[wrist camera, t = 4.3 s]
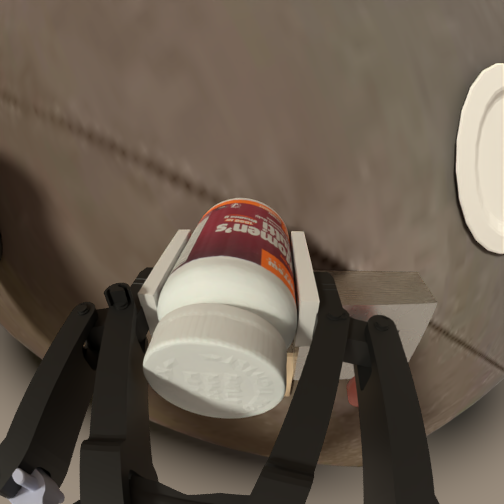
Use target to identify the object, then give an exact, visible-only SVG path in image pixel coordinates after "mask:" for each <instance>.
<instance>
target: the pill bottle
mask: <svg viewBox="0 0 504 504" xmlns="http://www.w3.org/2000/svg"><path fill="white" fill-rule="evenodd" d="M157 314H158V321H159V323H158V325H157V326H156V328H155V331H154V333H153V336H152V340H151V342H150V344H149V347H148V349H147V352H146V354H145V357H144V360H143V372H144V376H145V378H146V380H147V381H148V383H149V384H150V386H151V387H152V388H153V389H154V390H155V391H156V392H157V393H158V394H159V395H160V396H161V397H163V398H164V399H166V400H167V401H169V402H170V403H172V404H174V405H176V406H178V407H180V408H182V409H184V410H187V411H190V412H193V413H196V414H199V415H204V416H209V417H215V418H244V417H251V416H255V415H259V414H262V413H264V412H266V411H268V410H270V409H272V408H274V407H275V406H276V405H277V404H278V403H279V402H280V401H281V400H282V399H283V397H284V395H285V392H286V386H287V369H286V365H287V349H288V348H289V346H290V345H291V343H292V341H293V339H294V337H295V333H296V329H297V315H298V314H297V305H296V296H295V284H294V273H293V266H292V257H291V247H290V239H289V234H288V230H287V228H286V225H285V223H284V222H283V220H282V218H281V217H280V216H279V215H278V214H277V212H275V211H274V210H273V209H272V208H270V207H269V206H268V205H266V204H264V203H262V202H259V201H257V200H253V199H248V198H234V199H229V200H226V201H223V202H220V203H218V204H217V205H215V206H213V207H212V208H211V209H210V210H209V211H208V212H207V213H206V214H205V215H204V216H203V217H202V219H201V220H200V222H199V223H198V225H197V227H196V229H195V230H194V232H193V234H192V236H191V237H190V239H189V241H188V243H187V245H186V246H185V248H184V250H183V251H182V253H181V255H180V257H179V259H178V260H177V262H176V264H175V266H174V268H173V270H172V271H171V273H170V275H169V277H168V279H167V281H166V283H165V284H164V286H163V288H162V291H161V294H160V297H159V300H158V307H157Z"/></svg>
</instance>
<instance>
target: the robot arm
mask: <svg viewBox="0 0 504 504" xmlns="http://www.w3.org/2000/svg"><path fill="white" fill-rule="evenodd" d="M190 237H191V230H178V232H177V233H176V235H175V236H174V238H173V239H172V241H171V242H170V244H169V245H168V247H167V248H166V250H165V251H164V253H163V254H162V256H161V257H160V259H159V260H158V262H157V264H156V265H155V267H154V268H148V267H147V268H145V269H144V270H143V271H141V272H140V273H139V275H138V276H137V278H136V279H135V281H134V282H133V284H132V285H131V287H130V286H129V285H128V284H126V283H116V284H113V285H111V286H109V287H108V288H107V289H106V290H105V291H104V295H105V297H106V300H107V303H108V305H109V308H106V309H98V310H96V308H95V306H94V304H93V303H90V302H84V303H81V304H79V305H77V306H76V307H75V308H74V309H73V310H72V312H71V313H70V315H69V317H68V318H67V320H66V321H65V323H64V324H63V326H62V328H61V329H60V331H59V332H58V334H57V336H56V337H55V339H54V341H53V342H52V344H51V346H50V347H49V349H48V351H47V353H46V354H45V356H44V358H43V360H42V362H41V363H40V365H39V367H38V369H37V371H36V373H35V375H34V377H33V378H32V380H31V382H30V384H29V386H28V388H27V390H26V392H25V395H24V397H23V399H22V401H21V403H20V405H19V407H18V410H17V412H16V414H15V416H14V419H13V421H12V424H11V426H10V428H9V431H8V433H7V436H6V438H5V439H4V440H3V442H2V443H1V444H0V495H1V496H3V497H5V498H7V499H9V501H10V502H11V503H12V504H58V503H62V502H63V501H64V494H63V493H62V492H61V491H60V489H59V488H60V486H61V484H62V483H63V480H64V478H65V476H66V474H67V471H68V468H69V465H70V461H71V458H72V454H73V451H74V448H75V444H76V441H77V438H78V435H79V432H80V429H81V426H82V423H83V420H84V417H85V414H86V411H87V408H88V406H89V403H90V400H91V398H92V395H93V402H92V413H91V423H90V436H89V438H88V440H84V441H83V442H82V444H81V449H80V500H78V501H77V502H75V503H73V504H305V502H306V499H307V497H308V494H309V491H310V489H311V485H312V483H313V478H314V471H315V468H316V465H317V461H318V458H319V455H320V452H321V449H322V445H323V442H324V438H325V435H326V431H327V428H328V424H329V420H330V416H331V413H332V409H333V404H334V400H335V396H336V392H337V387H338V383H339V378H340V373H341V368H342V363H343V362H345V363H350V364H353V367H354V374H355V382H356V390H357V398H358V407H359V417H360V429H361V442H362V458H363V483H364V484H363V485H364V504H439V502H438V500H437V499H436V497H435V495H434V485H433V476H432V469H431V462H430V455H429V449H428V444H427V438H426V433H425V428H424V423H423V419H422V414H421V410H420V406H419V401H418V397H417V394H416V390H415V386H414V382H413V379H412V375H411V372H410V368H409V365H408V361H407V358H406V355H405V352H404V349H403V345H402V342H401V339H400V336H399V333H398V330H397V328H396V325H395V323H394V321H393V320H391V319H390V318H389V317H386V316H384V315H374V316H372V317H370V318H369V320H368V322H366V321H361V320H357V319H354V318H352V317H350V314H349V313H348V311H347V310H345V309H344V308H343V307H342V303H341V300H340V297H339V294H338V290H337V287H336V285H335V281H334V278H333V277H332V276H331V275H330V274H329V272H313V269H312V264H311V260H310V256H309V251H308V247H307V243H306V239H305V235H304V232H301V231H291V243H290V247H291V257H292V266H293V273H294V284H295V296H296V305H297V314H298V315H297V329H296V333H295V337H294V341H295V347H303V346H310V349H309V352H308V355H307V358H306V361H305V364H304V367H303V370H302V373H301V376H300V379H299V382H298V385H297V388H296V391H295V393H294V396H293V399H292V402H291V404H290V407H289V410H288V412H287V415H286V418H285V420H284V423H283V425H282V428H281V430H280V433H279V435H278V438H277V440H276V443H275V445H274V447H273V450H272V452H271V455H270V457H269V459H268V461H267V463H266V464H265V466H264V468H263V469H262V472H261V474H260V476H259V478H258V480H257V482H256V484H255V487H254V489H253V490H252V493H251V495H235V494H224V493H216V494H201V495H186V494H183V493H181V492H178V491H176V490H174V489H172V488H170V487H168V486H165V485H163V484H161V483H159V482H158V477H157V474H156V471H155V469H154V467H153V464H152V455H151V445H150V432H149V431H150V430H149V412H148V381H147V380H146V378H145V376H144V372H143V360H144V357H145V354H146V352H147V349H148V340H147V337H146V334H147V332H148V330H149V331H150V334H151V337H152V336H153V333H154V331H155V328H156V326H157V325H158V323H159V321H158V314H157V307H158V300H159V297H160V294H161V291H162V288H163V286H164V284H165V283H166V281H167V279H168V277H169V275H170V273H171V271H172V270H173V268H174V266H175V264H176V262H177V260H178V259H179V257H180V255H181V253H182V251H183V250H184V248H185V246H186V245H187V243H188V241H189V239H190ZM1 255H2V244H1V237H0V260H1ZM85 342H86V345H85V347H83V345H84V343H85Z"/></svg>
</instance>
